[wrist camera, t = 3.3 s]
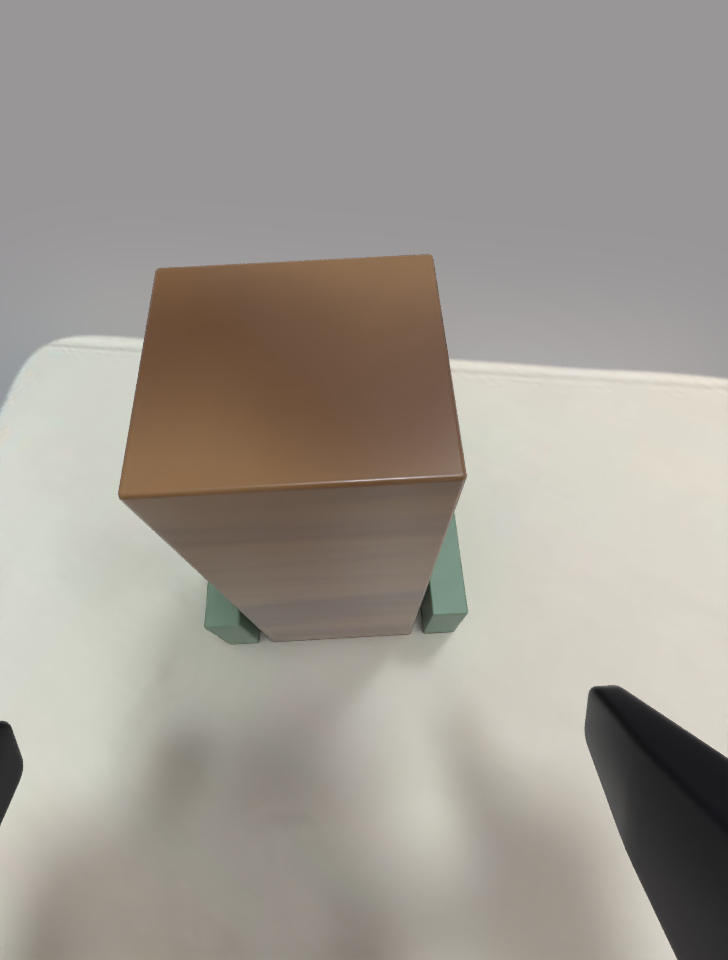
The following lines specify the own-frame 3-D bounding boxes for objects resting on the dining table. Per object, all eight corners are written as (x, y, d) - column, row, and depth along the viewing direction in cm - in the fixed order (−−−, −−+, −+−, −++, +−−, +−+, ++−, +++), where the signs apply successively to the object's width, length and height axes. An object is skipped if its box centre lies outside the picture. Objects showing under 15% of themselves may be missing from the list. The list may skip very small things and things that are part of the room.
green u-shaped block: (454, 631, 21) (470, 610, 17) (229, 644, 21) (198, 625, 17) (435, 480, 24) (446, 434, 20) (238, 490, 24) (213, 446, 20)
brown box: (411, 634, 21) (468, 478, 8) (272, 642, 21) (113, 498, 8) (401, 517, 23) (433, 251, 10) (275, 523, 23) (154, 266, 10)
